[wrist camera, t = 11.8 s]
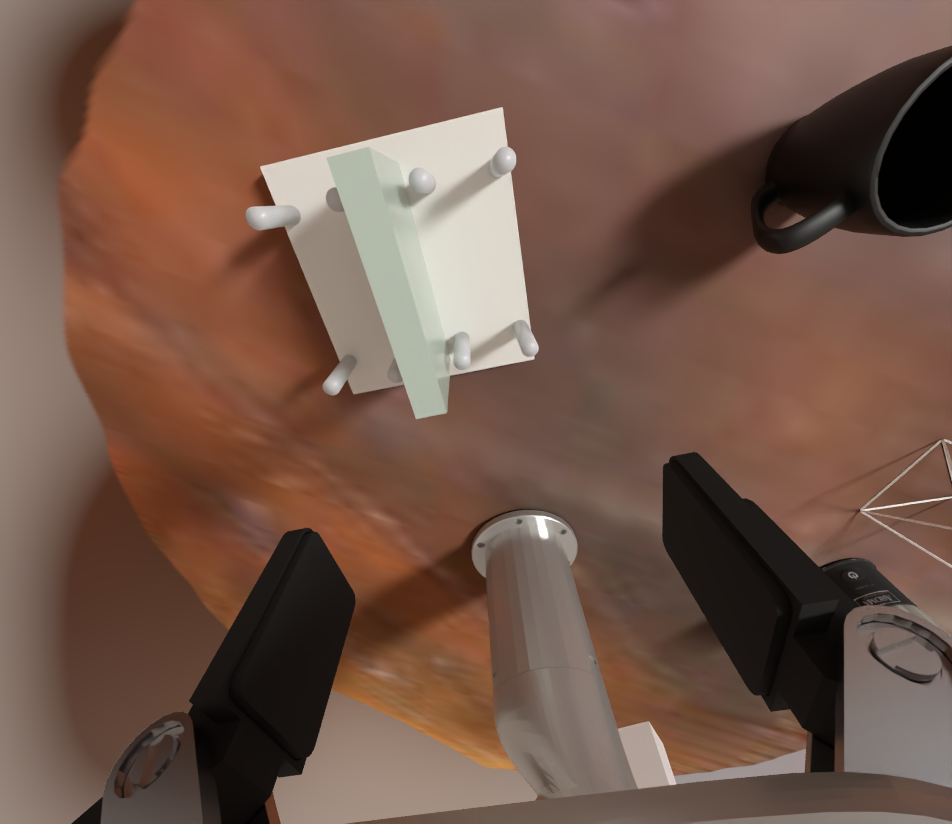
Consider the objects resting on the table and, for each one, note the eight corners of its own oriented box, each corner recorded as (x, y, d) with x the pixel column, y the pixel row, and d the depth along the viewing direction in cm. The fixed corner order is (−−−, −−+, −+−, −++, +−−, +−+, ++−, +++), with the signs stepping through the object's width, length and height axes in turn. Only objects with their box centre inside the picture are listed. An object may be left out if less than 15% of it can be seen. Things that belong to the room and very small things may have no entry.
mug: (678, 177, 26) (776, 167, 18) (863, 51, 23) (1082, -29, 15) (711, 277, 30) (805, 307, 22) (876, 180, 27) (1059, 171, 19)
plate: (370, 170, 24) (326, 157, 17) (399, 163, 24) (368, 146, 16) (427, 364, 31) (416, 418, 24) (450, 359, 31) (446, 412, 23)
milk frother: (865, 546, 47) (1016, 676, 34) (893, 600, 53) (1030, 729, 40) (755, 594, 51) (852, 726, 39) (792, 640, 58) (887, 767, 45)
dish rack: (531, 352, 33) (545, 384, 27) (357, 386, 34) (336, 424, 28) (500, 112, 24) (511, 85, 19) (270, 168, 25) (215, 159, 20)
